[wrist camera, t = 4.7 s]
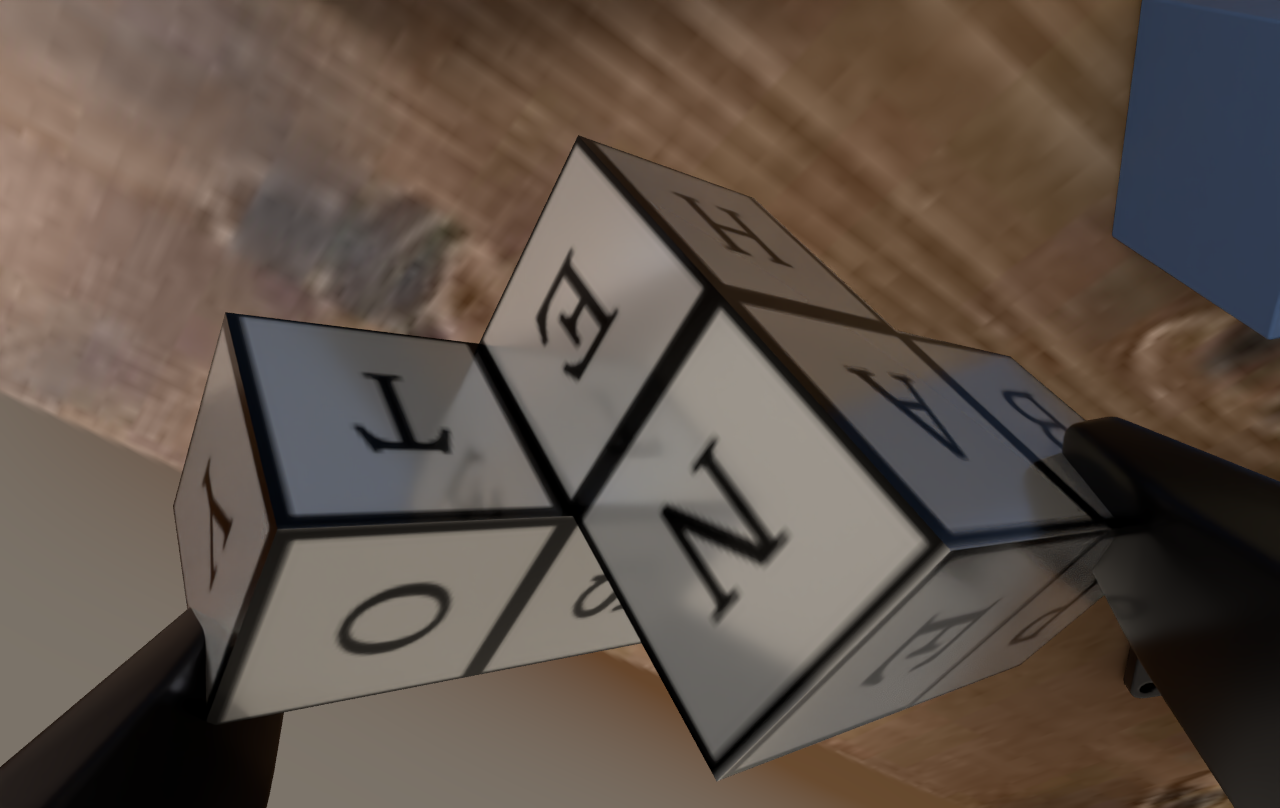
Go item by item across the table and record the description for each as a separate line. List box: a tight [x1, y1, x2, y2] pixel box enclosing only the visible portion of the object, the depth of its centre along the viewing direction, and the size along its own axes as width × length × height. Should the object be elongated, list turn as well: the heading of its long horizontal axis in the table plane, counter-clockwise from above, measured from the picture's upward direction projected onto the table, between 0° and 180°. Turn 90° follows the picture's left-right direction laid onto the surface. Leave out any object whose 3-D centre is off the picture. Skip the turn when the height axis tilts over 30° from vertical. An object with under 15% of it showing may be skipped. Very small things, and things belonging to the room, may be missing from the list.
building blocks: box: [173, 135, 1122, 781], centre depth 8 cm, size 5×5×8 cm
